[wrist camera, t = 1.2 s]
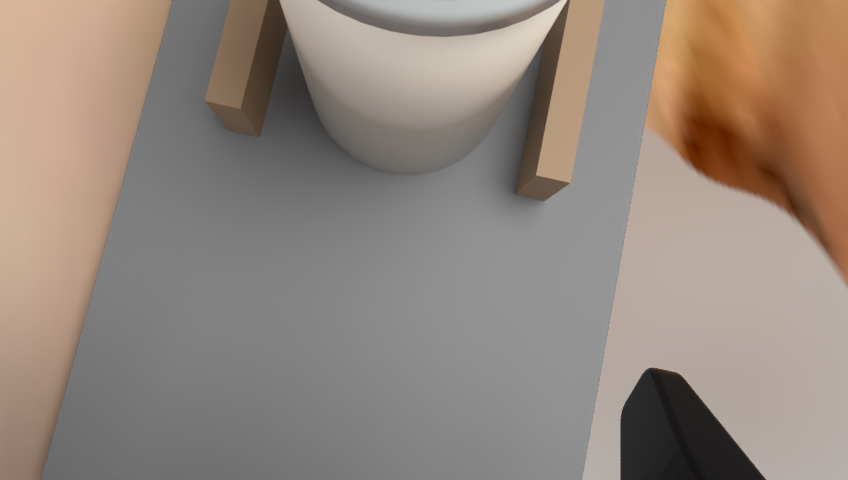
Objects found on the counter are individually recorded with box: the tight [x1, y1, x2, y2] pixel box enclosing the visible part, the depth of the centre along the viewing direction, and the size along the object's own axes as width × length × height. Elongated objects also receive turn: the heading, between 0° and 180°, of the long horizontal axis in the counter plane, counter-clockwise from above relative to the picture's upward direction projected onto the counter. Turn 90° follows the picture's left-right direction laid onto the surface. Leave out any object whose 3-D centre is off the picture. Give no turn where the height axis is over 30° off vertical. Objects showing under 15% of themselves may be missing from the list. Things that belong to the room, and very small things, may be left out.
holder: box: [41, 0, 666, 480], centre depth 21 cm, size 24×16×4 cm, turn 168°
